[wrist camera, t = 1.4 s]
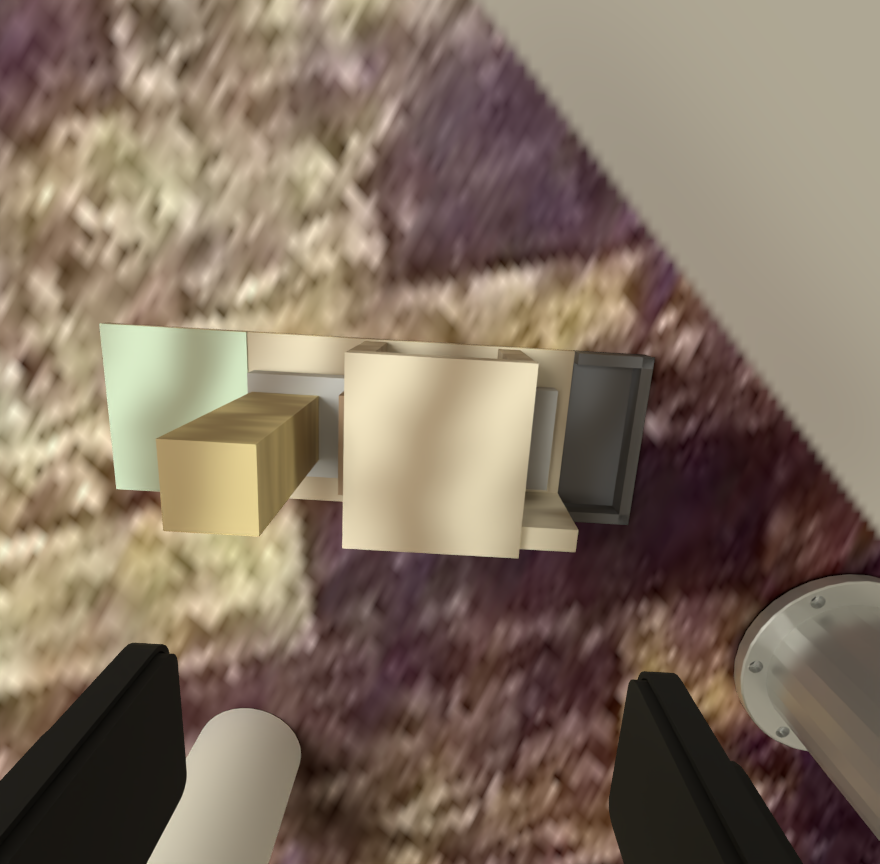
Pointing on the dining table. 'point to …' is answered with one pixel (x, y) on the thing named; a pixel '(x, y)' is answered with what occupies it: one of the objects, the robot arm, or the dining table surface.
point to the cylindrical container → (232, 792)
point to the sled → (278, 452)
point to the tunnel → (408, 430)
